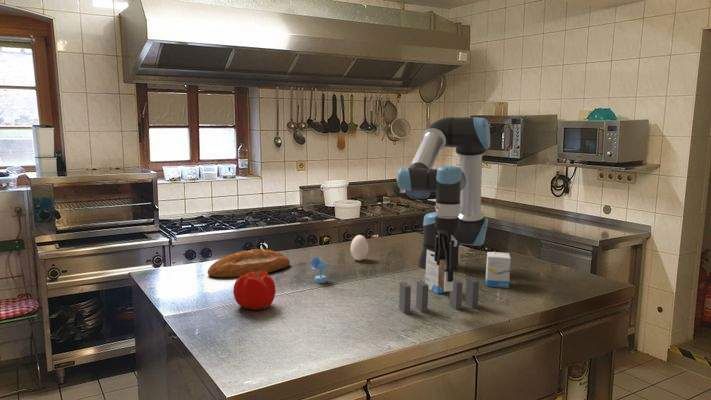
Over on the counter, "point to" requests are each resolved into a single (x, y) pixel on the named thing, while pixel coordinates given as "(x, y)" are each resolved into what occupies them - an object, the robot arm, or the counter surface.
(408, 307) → the domino
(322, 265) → the spotlight
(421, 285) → the domino
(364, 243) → the egg
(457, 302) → the domino
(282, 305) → the counter surface
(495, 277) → the ink box
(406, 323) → the counter surface
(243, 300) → the tomato
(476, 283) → the domino
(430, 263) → the ink box
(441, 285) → the walnut domino
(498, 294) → the counter surface
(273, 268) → the bread
